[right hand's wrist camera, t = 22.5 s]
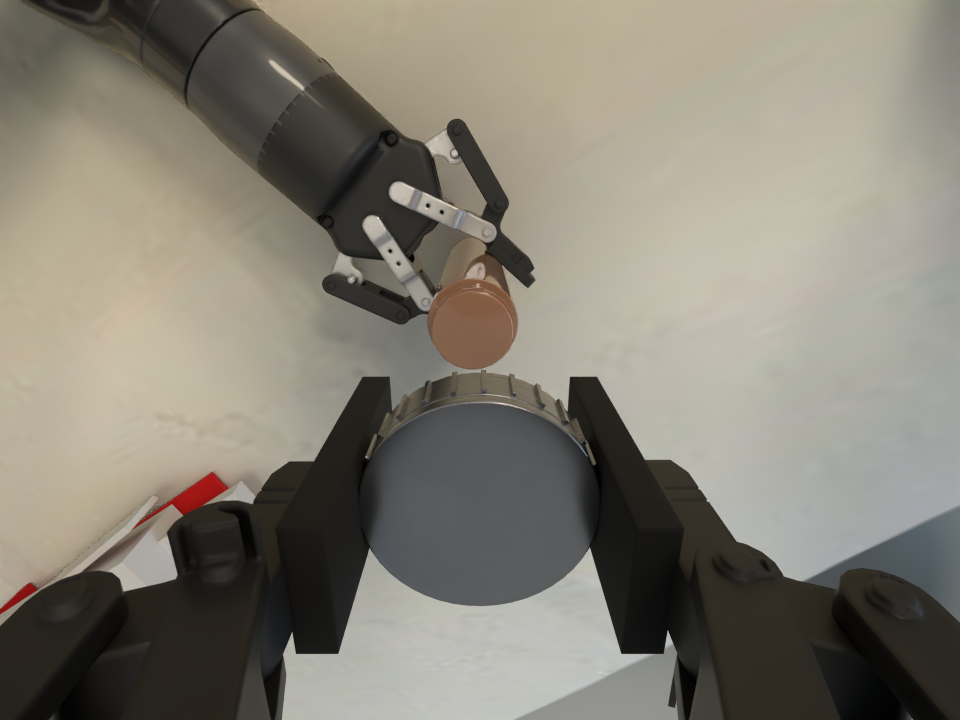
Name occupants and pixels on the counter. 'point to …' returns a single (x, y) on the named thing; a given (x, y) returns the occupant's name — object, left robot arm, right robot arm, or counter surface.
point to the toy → (141, 542)
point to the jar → (472, 308)
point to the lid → (479, 490)
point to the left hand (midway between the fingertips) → (504, 307)
